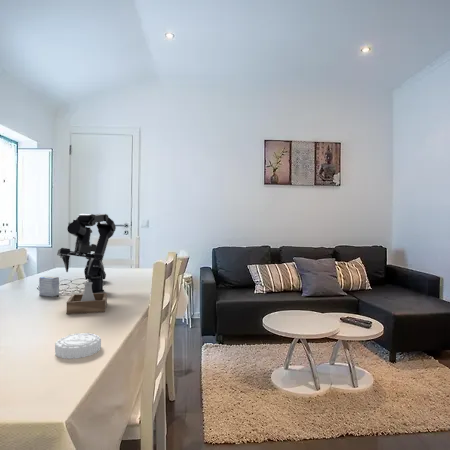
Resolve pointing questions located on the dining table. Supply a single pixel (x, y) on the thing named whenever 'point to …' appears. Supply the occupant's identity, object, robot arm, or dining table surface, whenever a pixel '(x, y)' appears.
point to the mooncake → (77, 345)
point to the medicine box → (49, 286)
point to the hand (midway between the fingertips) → (77, 273)
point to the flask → (88, 292)
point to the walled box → (86, 304)
